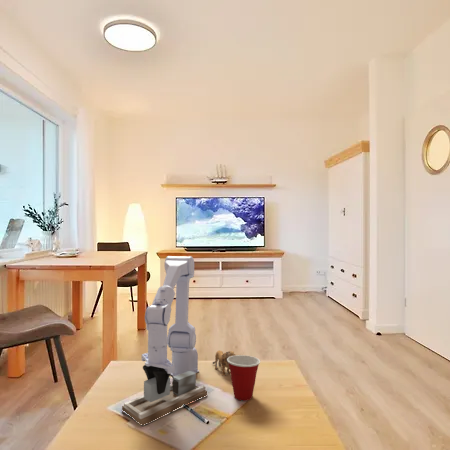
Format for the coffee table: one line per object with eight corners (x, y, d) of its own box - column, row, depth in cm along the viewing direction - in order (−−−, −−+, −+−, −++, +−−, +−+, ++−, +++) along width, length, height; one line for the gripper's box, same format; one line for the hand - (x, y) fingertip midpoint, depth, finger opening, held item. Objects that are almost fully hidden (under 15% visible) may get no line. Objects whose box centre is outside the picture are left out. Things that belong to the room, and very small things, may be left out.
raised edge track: (185, 384, 116) (185, 365, 117) (207, 395, 109) (207, 375, 109) (122, 411, 99) (122, 389, 99) (142, 426, 92) (142, 402, 92)
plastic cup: (264, 392, 111) (264, 355, 111) (253, 407, 101) (253, 367, 102) (234, 386, 116) (234, 350, 116) (221, 400, 106) (221, 361, 106)
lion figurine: (240, 376, 124) (240, 351, 124) (228, 379, 121) (228, 354, 121) (217, 363, 136) (217, 340, 136) (206, 366, 133) (206, 343, 133)
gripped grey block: (143, 398, 100) (143, 381, 100) (164, 389, 105) (164, 373, 106) (150, 402, 98) (150, 384, 98) (171, 393, 103) (171, 377, 103)
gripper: (133, 342, 104) (132, 387, 104) (160, 354, 94) (160, 403, 94) (152, 337, 109) (152, 379, 109) (180, 348, 99) (180, 395, 99)
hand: (157, 390), depth 102 cm, fingers closed on gripped grey block, 3 cm apart
